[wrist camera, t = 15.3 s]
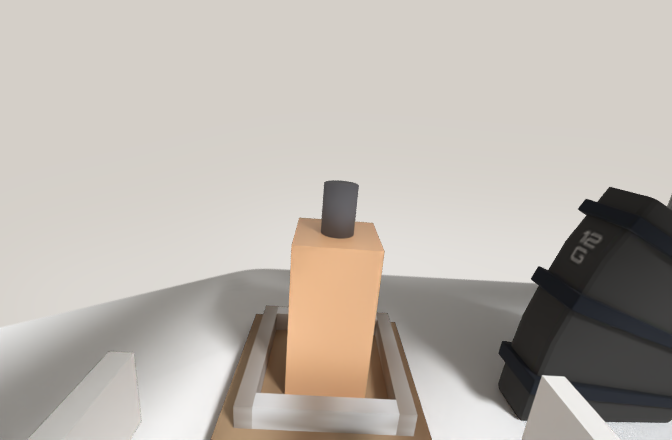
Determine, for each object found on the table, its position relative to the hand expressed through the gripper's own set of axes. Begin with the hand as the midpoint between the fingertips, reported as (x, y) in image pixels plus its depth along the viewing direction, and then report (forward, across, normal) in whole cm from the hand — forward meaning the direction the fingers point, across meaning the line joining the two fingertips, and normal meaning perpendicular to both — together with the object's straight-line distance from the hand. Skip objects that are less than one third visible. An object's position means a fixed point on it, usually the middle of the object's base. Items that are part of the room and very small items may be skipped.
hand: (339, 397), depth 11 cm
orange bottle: (+11, 0, -8) cm, 13 cm away
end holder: (+11, 0, -9) cm, 14 cm away
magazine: (+10, +19, -9) cm, 23 cm away
